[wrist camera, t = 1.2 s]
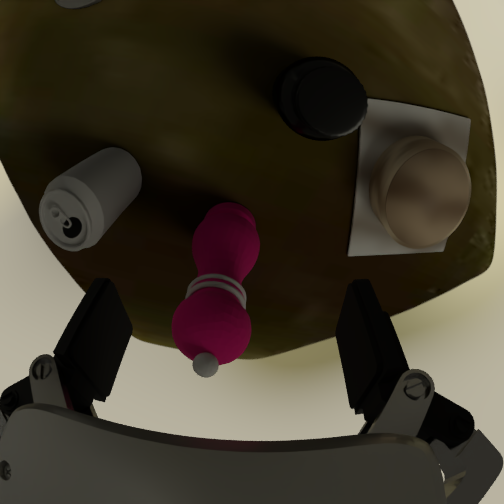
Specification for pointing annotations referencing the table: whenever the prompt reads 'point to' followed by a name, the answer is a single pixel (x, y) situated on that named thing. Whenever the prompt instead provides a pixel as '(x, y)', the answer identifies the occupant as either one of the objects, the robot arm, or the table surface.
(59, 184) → the can
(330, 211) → the table surface
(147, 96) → the table surface
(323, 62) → the supplement bottle
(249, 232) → the pepper mill
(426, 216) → the pedestal
